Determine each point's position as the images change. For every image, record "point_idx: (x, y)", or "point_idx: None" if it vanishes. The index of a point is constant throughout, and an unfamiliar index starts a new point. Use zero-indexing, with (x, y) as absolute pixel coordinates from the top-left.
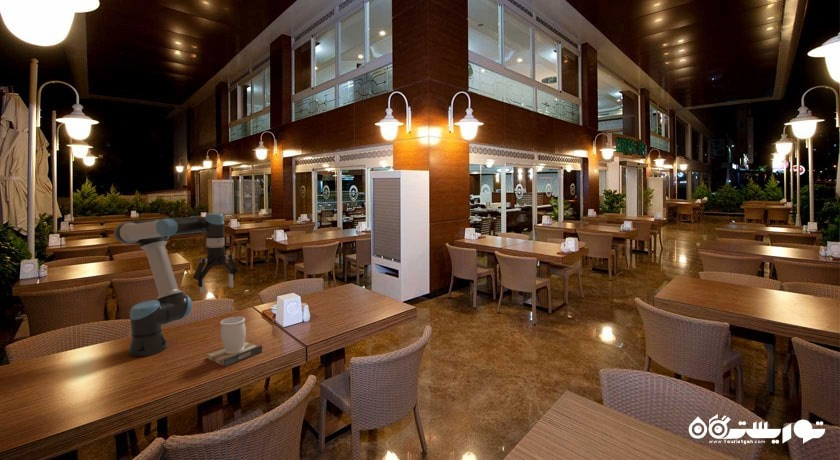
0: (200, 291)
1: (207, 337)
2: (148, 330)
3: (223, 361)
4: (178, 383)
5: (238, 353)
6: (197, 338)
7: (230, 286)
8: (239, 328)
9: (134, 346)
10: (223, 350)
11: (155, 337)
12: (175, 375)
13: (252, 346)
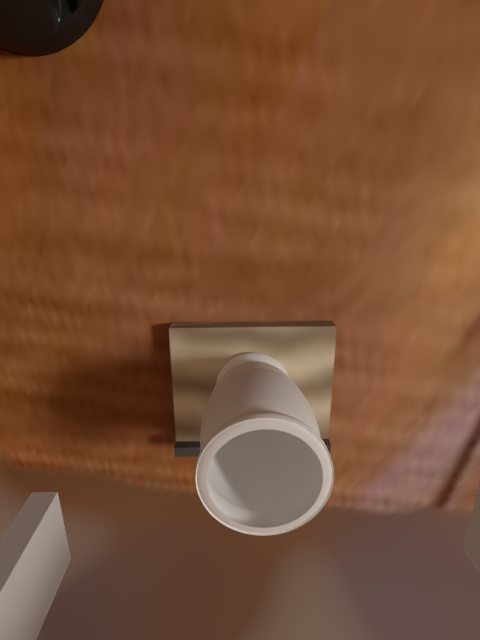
0: (19, 522)
1: (296, 65)
2: None
3: (176, 437)
4: (26, 425)
5: None
6: (258, 26)
7: (478, 528)
8: (261, 504)
9: None
10: (228, 348)
11: None
12: (36, 363)
13: (317, 407)
